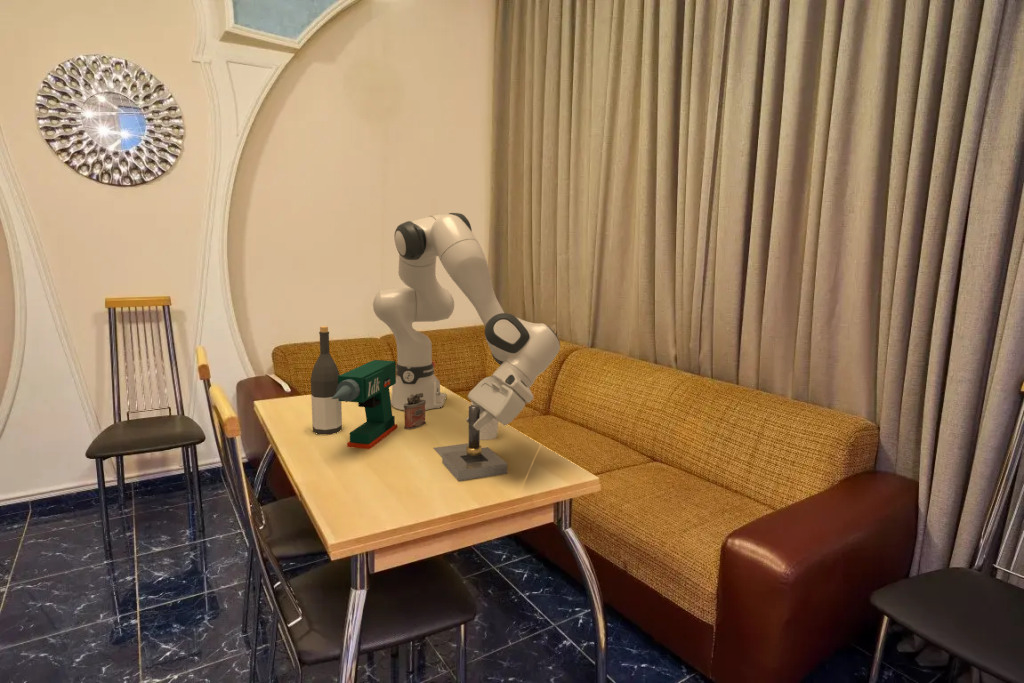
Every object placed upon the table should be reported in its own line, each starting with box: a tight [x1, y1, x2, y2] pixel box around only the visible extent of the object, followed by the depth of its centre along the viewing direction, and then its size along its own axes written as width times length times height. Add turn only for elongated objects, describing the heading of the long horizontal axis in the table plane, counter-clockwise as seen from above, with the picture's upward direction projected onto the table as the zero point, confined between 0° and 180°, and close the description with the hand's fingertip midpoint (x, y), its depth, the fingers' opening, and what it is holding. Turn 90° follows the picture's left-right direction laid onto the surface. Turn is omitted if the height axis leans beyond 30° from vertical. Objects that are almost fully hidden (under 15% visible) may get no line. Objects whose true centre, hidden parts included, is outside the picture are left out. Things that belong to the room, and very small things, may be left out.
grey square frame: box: [441, 446, 508, 482], centre depth 142 cm, size 12×12×3 cm
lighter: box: [403, 393, 427, 431], centre depth 173 cm, size 8×3×10 cm, turn 147°
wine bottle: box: [310, 325, 343, 435], centre depth 167 cm, size 8×8×30 cm
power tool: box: [332, 359, 398, 450], centre depth 156 cm, size 32×7×20 cm, turn 168°
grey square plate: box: [433, 442, 469, 458], centre depth 153 cm, size 10×10×1 cm
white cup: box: [470, 401, 499, 441], centre depth 165 cm, size 8×8×10 cm
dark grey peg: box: [466, 405, 483, 456], centre depth 140 cm, size 4×4×12 cm
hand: (471, 425), depth 140 cm, fingers closed on dark grey peg, 3 cm apart
